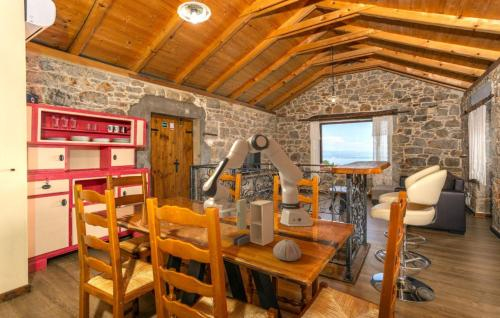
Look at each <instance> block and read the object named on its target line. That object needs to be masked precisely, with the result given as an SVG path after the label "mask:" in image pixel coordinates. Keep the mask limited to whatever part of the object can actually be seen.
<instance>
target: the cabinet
mask: <svg viewBox="0 0 500 318" xmlns="http://www.w3.org/2000/svg"><path fill="white" fill-rule="evenodd" d="M274 202H275V201H273V200H267V199H258V200H253V201H249V233H243V234H239V235H237V236H235V237H232V245H233V246H234V245H237V247H241V246H244V245H247V244H249V243H253V244H257V245H259V246H262V247H263V246H266V245H268V244H269V243H272V242H273V241H275V212H274V210H275V206H274V205H275V203H274Z"/></svg>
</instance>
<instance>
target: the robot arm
mask: <svg viewBox="0 0 500 318" xmlns="http://www.w3.org/2000/svg"><path fill="white" fill-rule="evenodd" d="M230 147H231V148H230V150H229V151H228V153H227V155H226V156H225V157H222V158H221V159H220V160H219V162H218V163H217V165H216V166H215V168H214V169H213V171H212V173H211V174H210V176H209V177H208V178H207V180H206V181H205V182H204V184H203V185H202V189H201V190H202V194H203V196H204V197H207V198H208V199H206V200H205V201H204V203H203V208H204V210H205V208H207V207H219V217H218V218H220V219H227V218H230V217H237V216H239V212H237V206H236V205H237V201H229V200H230V197H231V191H230V189H229V188H228V187H226V186H224V185H222V184H221V183H219V180H220V179H221V177H222V176H223V173H224V172H225V171H226V170H229V169H233V170H235V169H240V168H242V166H243V164H244V162H245V160H246V158H247V155H248V154H251V155H253V154H256V153H259V152H261V151H262V152H264V153H265V155H266V157H267V158H268V159H269V161H270V162H271V163H272V165H273V166H274V167H275V168H276V169H277V170H278V175H279V179H280V186H281V192H282V195H281V196H282V197H281V199H282V200H281V217H280V221H279V223H281V224H282V225H285V226H288V227H312V226H314V220H313V219H311V217H310V214H309V212H307V211H306V210H305V209H303V208H302V207H303V204H302V203H301V202H299V189H298V187H297V183H298V184H299V183H300V182H301V181H302V180H303V177H304V174H303V172H302V170H301V169H299V167H298V166H297V165H296V164H295V163H294V161H292V159H291V158H289V156H288V155H287V153H286V152H285V151H284V150H283V148H282V146H281V145H280V144H279V143H278V142H277V140H276V139H274V138H273V137H272V136H265V135H264V134H261V133H257V134H254V135H252V136H250V137H248V138H247V139H243V138H242V139H241V138H238V139H236V140H235V141H234V142H233V144H232V146H230ZM248 213H249V207H248V205H247V214H248Z"/></svg>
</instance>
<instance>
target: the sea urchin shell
mask: <svg viewBox="0 0 500 318" xmlns="http://www.w3.org/2000/svg"><path fill="white" fill-rule="evenodd" d="M272 251H273V252H272V253H273V255H274V257H276V258H277V259H278V260H282V261H285V262H286V261H287V262H294V261H297V260H299V259H300V258H301V256H302V250H301V248H300V245H298V244H297V243H296V241H294V240H292V239H282V240H280V241H278V242H277V243H276V244H275V245H274V247H273V248H272Z"/></svg>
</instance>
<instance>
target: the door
mask: <svg viewBox="0 0 500 318" xmlns="http://www.w3.org/2000/svg"><path fill="white" fill-rule="evenodd" d="M236 202H237V205H236V206H237V212H239V216H236V230H237V231H239V232H240V231H243V230H246V229H247V226H248V225H247V223H248V221H247V219H248V218H247V217H248V215H247V214H248V213H247V206H248V205H247V199H246V198H242V199H238V200H236Z"/></svg>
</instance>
